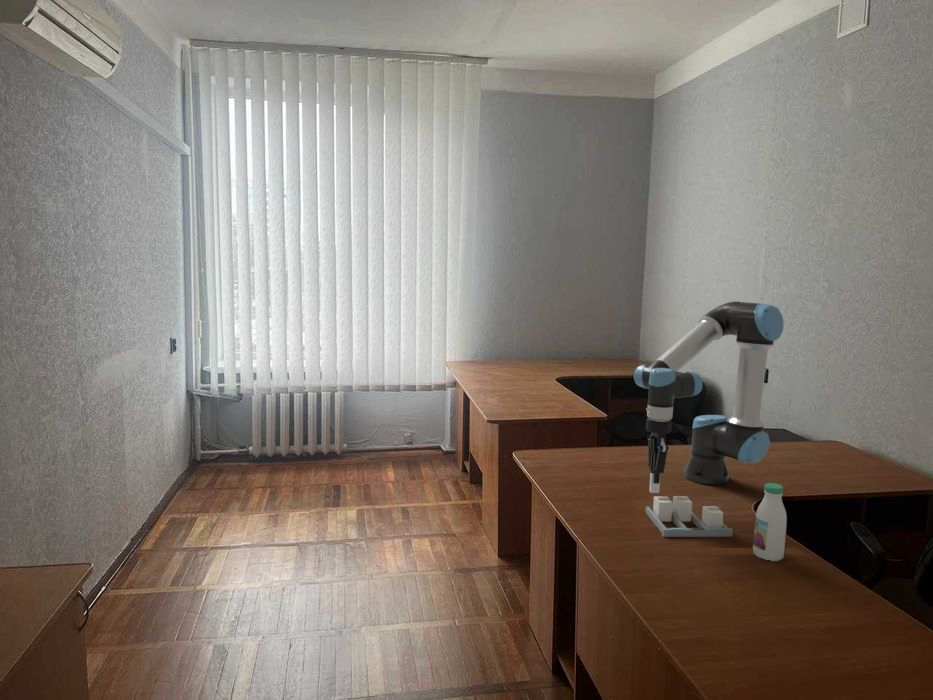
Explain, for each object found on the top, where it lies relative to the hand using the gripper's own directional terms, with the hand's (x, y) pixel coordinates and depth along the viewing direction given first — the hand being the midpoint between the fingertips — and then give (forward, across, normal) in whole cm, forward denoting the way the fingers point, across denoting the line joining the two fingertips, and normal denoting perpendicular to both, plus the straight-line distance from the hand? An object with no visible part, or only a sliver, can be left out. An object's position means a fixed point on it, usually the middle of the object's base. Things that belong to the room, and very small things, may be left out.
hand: (654, 491), depth 209 cm
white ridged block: (+6, +7, +6) cm, 11 cm away
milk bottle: (+7, +29, +22) cm, 38 cm away
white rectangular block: (+6, +15, +12) cm, 20 cm away
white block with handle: (+6, +7, 0) cm, 9 cm away
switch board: (+7, +11, +6) cm, 15 cm away
